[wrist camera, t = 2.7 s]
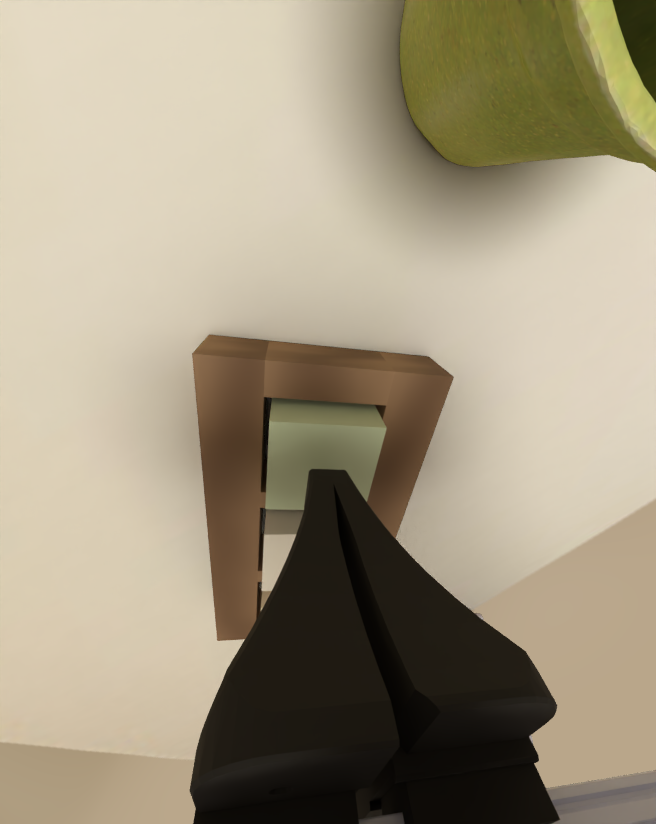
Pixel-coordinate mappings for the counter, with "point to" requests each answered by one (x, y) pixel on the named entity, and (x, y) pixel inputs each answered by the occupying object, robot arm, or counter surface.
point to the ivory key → (278, 542)
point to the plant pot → (531, 78)
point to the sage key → (319, 446)
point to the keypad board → (245, 443)
